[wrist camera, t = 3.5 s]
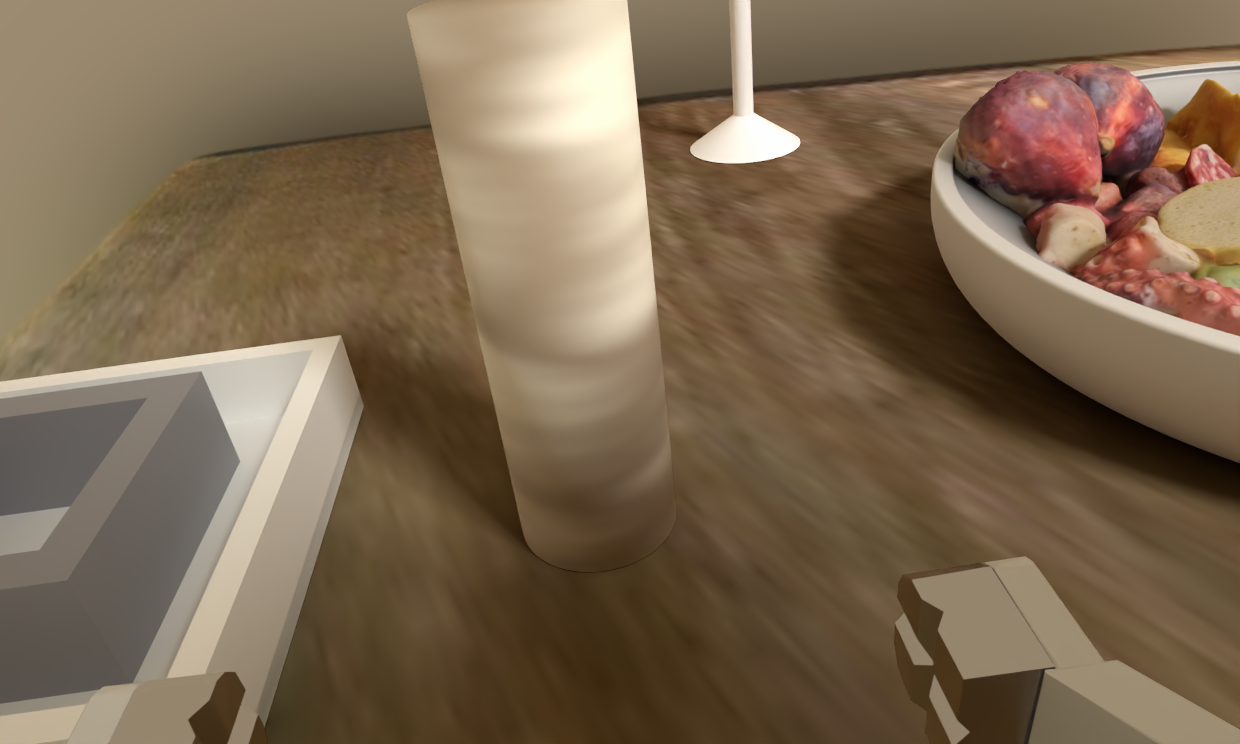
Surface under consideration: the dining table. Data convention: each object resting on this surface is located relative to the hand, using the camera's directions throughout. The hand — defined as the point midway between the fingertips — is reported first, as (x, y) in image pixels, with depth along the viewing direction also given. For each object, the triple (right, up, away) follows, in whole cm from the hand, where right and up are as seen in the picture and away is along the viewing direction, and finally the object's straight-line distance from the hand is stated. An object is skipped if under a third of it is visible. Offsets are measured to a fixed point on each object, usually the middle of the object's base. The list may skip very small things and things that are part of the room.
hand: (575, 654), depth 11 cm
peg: (0, -1, +14) cm, 14 cm away
